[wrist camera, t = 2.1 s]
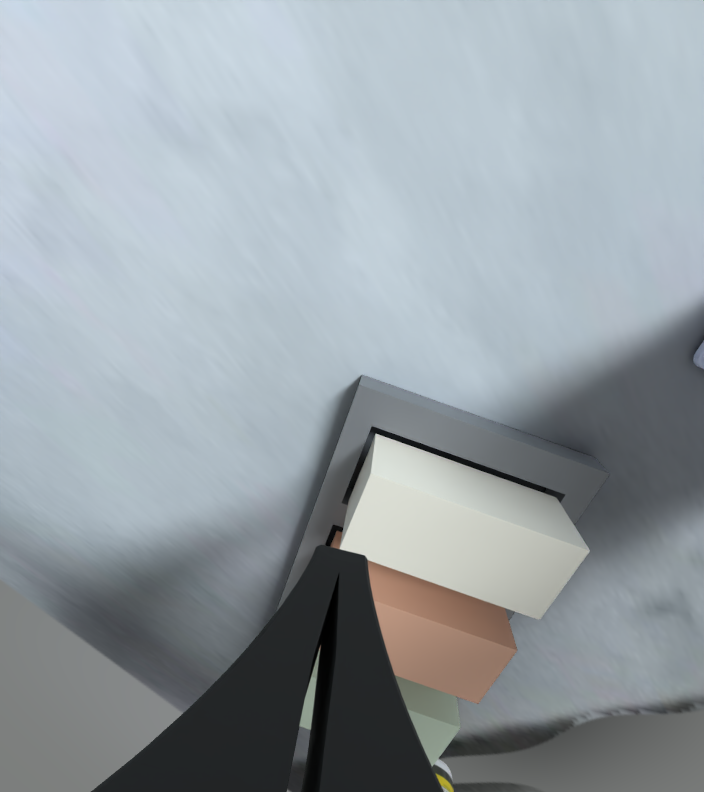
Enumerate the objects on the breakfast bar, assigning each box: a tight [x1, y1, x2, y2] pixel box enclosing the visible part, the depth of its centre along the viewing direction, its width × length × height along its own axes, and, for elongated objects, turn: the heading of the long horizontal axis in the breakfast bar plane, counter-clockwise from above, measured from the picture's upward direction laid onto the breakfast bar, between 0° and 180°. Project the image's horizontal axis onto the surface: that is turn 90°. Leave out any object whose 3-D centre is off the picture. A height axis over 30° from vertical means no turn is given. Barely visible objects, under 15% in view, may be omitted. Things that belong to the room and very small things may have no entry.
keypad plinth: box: [276, 375, 610, 620], centre depth 22 cm, size 12×20×2 cm, turn 161°
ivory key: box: [339, 434, 590, 620], centre depth 18 cm, size 9×4×4 cm, turn 71°
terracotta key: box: [320, 531, 517, 704], centre depth 20 cm, size 9×4×4 cm, turn 71°
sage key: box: [299, 649, 461, 766], centre depth 22 cm, size 9×4×4 cm, turn 71°
